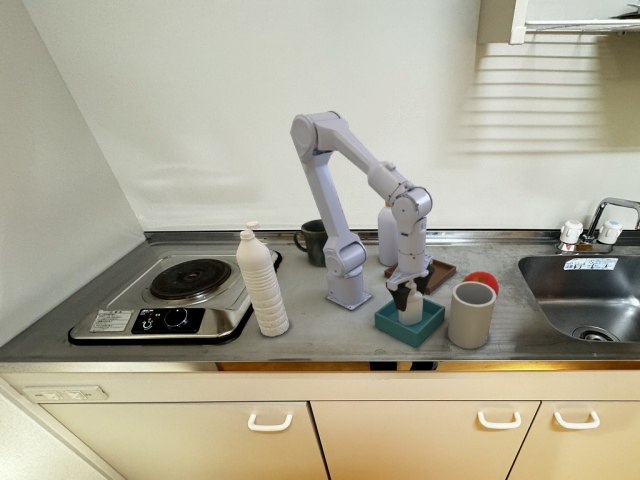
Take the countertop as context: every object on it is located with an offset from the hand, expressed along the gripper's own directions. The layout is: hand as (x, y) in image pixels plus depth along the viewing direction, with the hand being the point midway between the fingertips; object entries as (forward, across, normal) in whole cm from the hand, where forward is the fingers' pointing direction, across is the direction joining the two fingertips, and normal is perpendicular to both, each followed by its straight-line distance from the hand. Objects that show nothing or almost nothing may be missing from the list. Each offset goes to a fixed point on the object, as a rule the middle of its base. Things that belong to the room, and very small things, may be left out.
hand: (410, 301), depth 74 cm
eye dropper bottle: (+6, 0, 0) cm, 6 cm away
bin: (+7, 0, 0) cm, 7 cm away
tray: (+7, +21, +11) cm, 25 cm away
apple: (+6, +16, -10) cm, 20 cm away
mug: (+7, +9, +43) cm, 45 cm away
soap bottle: (+7, +23, +24) cm, 34 cm away
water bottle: (+7, -20, +26) cm, 34 cm away
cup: (+7, +5, -13) cm, 15 cm away
